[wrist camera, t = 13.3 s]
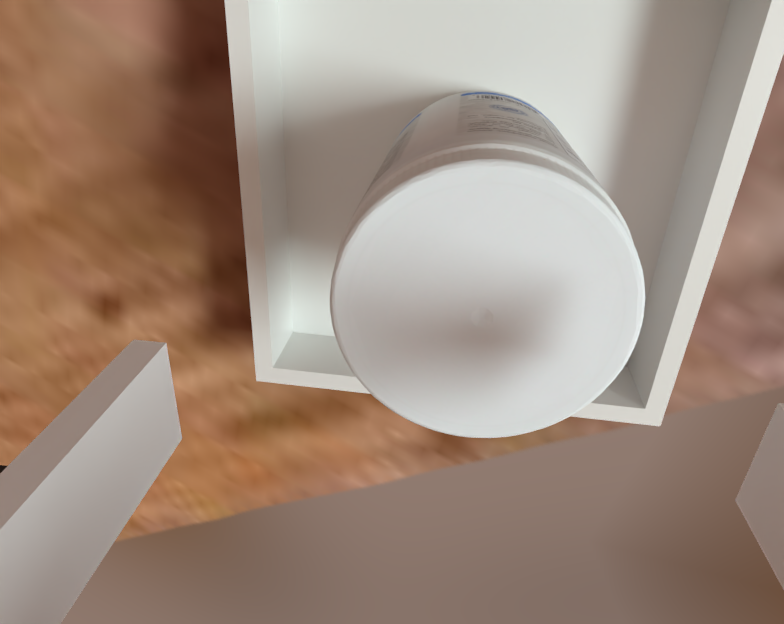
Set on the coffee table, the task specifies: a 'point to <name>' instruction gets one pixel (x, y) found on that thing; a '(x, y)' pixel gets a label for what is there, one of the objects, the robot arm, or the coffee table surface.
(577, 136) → the white bin
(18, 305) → the coffee table surface
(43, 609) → the robot arm
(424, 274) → the supplement tub
